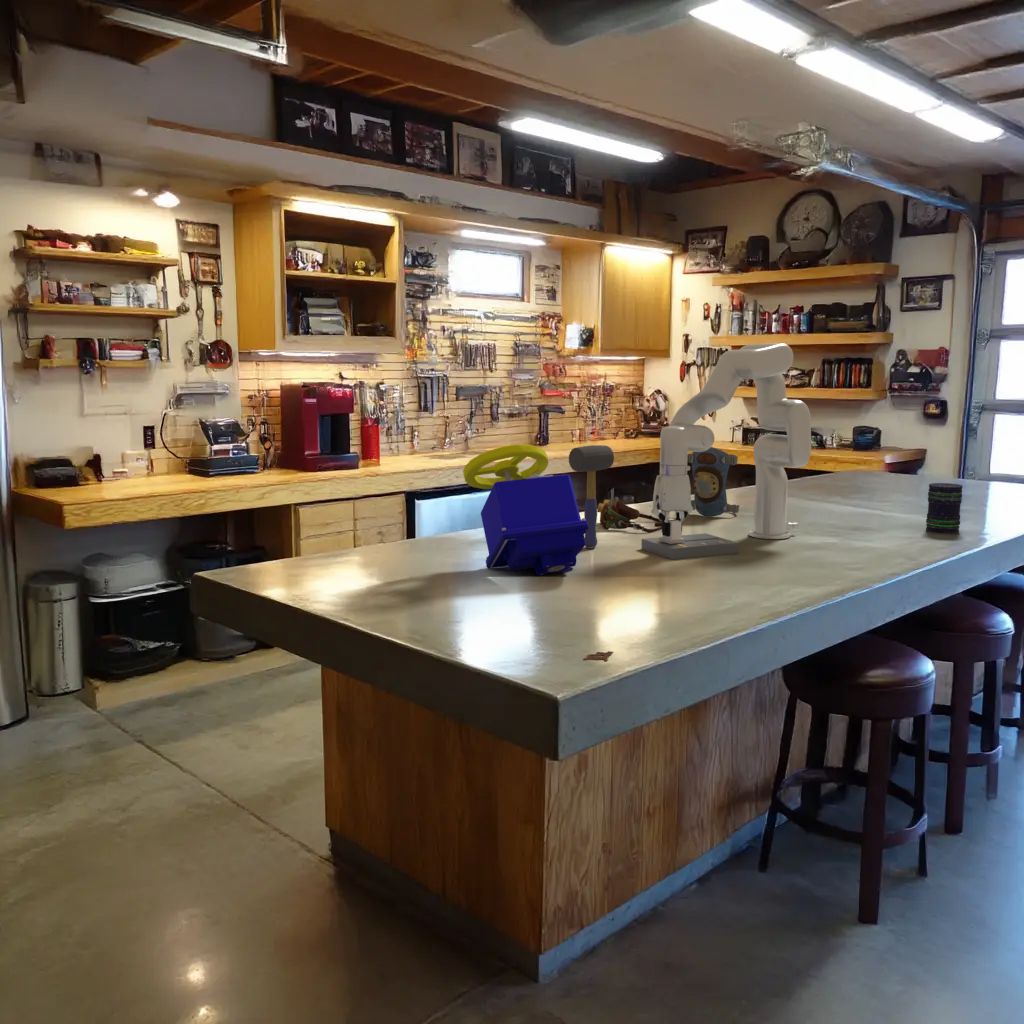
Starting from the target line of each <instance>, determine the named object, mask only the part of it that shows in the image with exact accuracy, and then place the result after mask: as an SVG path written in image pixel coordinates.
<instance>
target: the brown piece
mask: <svg viewBox="0 0 1024 1024" xmlns="http://www.w3.org/2000/svg"><path fill="white" fill-rule="evenodd" d="M613 653H614V651H609V650H607V651H606V652H603V651H597V652H596V653H593V654H586V657H584V658H582V661H589V660H590V661H604V662H608V660H609V658H610V657H611V656H612V655H613Z"/></svg>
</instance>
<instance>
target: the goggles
mask: <svg viewBox="0 0 1024 1024" xmlns="http://www.w3.org/2000/svg"><path fill="white" fill-rule="evenodd" d="M597 513H599V524H600V525H601V526H603V528H605V529H606V530H607V529H611V530H612V529H613V530H625V529H628V528H630V529H633V530H637V531H639V530H641V532H645V533H648V534H649V533H650V534H651V533H655V532H658V531H662V521H660V519H659V518H658V517H655V516H652V515H651V514H650V515H648V514H644V513H641V512H640V511H639V510H638V509H636V508H634V507H631V506H628V505H627V504H625V503H624V502H622V501H621V500H620V498H619V497H618V496H615V497H614V498H611V499H604V500H603V503H602V502H599V503H598V505H597ZM638 518H642V519H646V520H649V521H650V520H651V521H654V527H655V528H646V527H644V525H641V524H640V523H635V522H634V523H632V522H631V521H634V520H636V519H638Z"/></svg>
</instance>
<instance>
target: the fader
mask: <svg viewBox="0 0 1024 1024" xmlns="http://www.w3.org/2000/svg"><path fill="white" fill-rule="evenodd" d="M669 522H670V536H669V537H667V536H664V535H662V536H657V537H658V540H660V541H663V542H666V543H669V544H673V543H685V539H684V538H681V535H682V532H681V524H682V525H683V521H678V520H676V518H675V519H674V518H669Z"/></svg>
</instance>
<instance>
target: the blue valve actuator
mask: <svg viewBox="0 0 1024 1024" xmlns="http://www.w3.org/2000/svg"><path fill="white" fill-rule="evenodd" d="M509 458H510V459H509ZM526 458H531V459H533V460H535V462H534V463H533V464H532V465H531V466H530V467H528V468H526V469H524V470H522V471H519V470H520V469H519V468H520V467H519V464H520V463H521V462H522V461H524V460H525V459H526ZM496 461H498V462H497V463H495V464H494V465H492V466H486V465H489V464H491V463H493V462H496ZM548 465H549V458H548V455H547V453H546V451H545V450H544V449H543V448H541V447H540V446H536V445H530V444H514V445H505V446H500V447H496V448H493V449H491V450H488V451H485V452H482V453H480V454H479V455H476V456H475V457H473V458H471V459H470V460H469V462H468V463H467V464H466V465H465V466H464V468H463V472H462V473H463V478H464V482H465V483H466V484H467V485H468V486H470V487H472V488H477V489H482V490H490V492H489V494H488V496H487V498H486V501H485V503H484V505H483V507H482V509H481V511H480V516H481V523H482V527H483V531H484V532H483V533H484V537H485V541H486V542H485V543H486V546H487V550H488V556H486V559H485V565H486V568H487V569H494V568H504V567H508V570H509V571H517V570H524V569H525V570H526V569H532V568H534V571H535V575H536V577H541V576H544V575H547V574H551V573H552V574H553V573H557V572H558V573H562V574H563V573H568V572H569V571H570V572H571V569H570V568H572V567H576V566H577V565H576V564H577V556H578V555H580V554H579V553H580V552H581V551H582V550H583V549H584V548H585V547H586V546H585V544H586V543H585V533H586V531H587V530H588V529H589V526H588V523H587V521H586V520H585V517H583V518H581V514H580V511H579V506H578V503H577V498H576V495H575V490H574V487H573V483H572V479H571V476H570V474H561V475H560V474H559V475H554V474H547V475H544V474H543V473H544V472H545V470H546V469H547V467H548ZM484 466H486V467H484ZM489 474H494V475H495V476H496V477H495V478H494V477H482V476H483V475H489Z"/></svg>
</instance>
